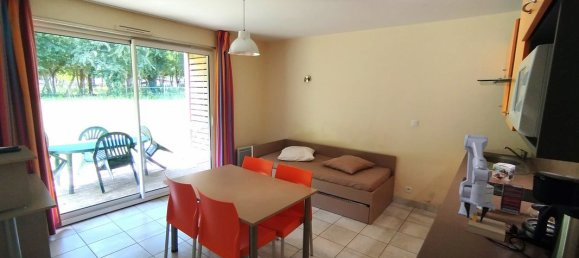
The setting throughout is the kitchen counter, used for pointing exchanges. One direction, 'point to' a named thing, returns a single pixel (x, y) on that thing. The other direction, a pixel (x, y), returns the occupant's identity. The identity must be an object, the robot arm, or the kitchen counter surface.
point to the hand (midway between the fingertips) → (474, 219)
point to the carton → (486, 233)
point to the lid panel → (487, 224)
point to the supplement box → (511, 198)
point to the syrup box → (488, 196)
